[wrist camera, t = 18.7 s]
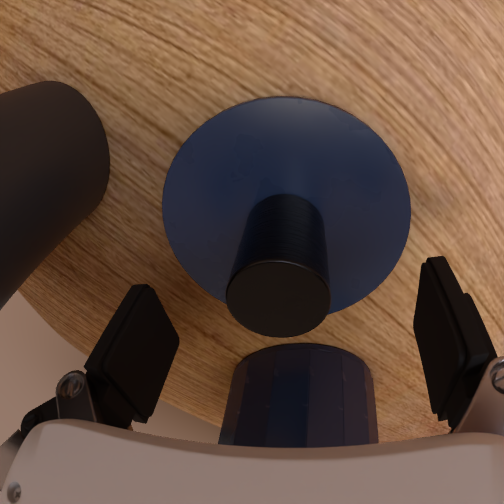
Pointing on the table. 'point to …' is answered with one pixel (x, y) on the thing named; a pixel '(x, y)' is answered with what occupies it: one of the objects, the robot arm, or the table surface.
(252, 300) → the lid
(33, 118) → the riser
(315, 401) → the pot
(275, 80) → the table surface
